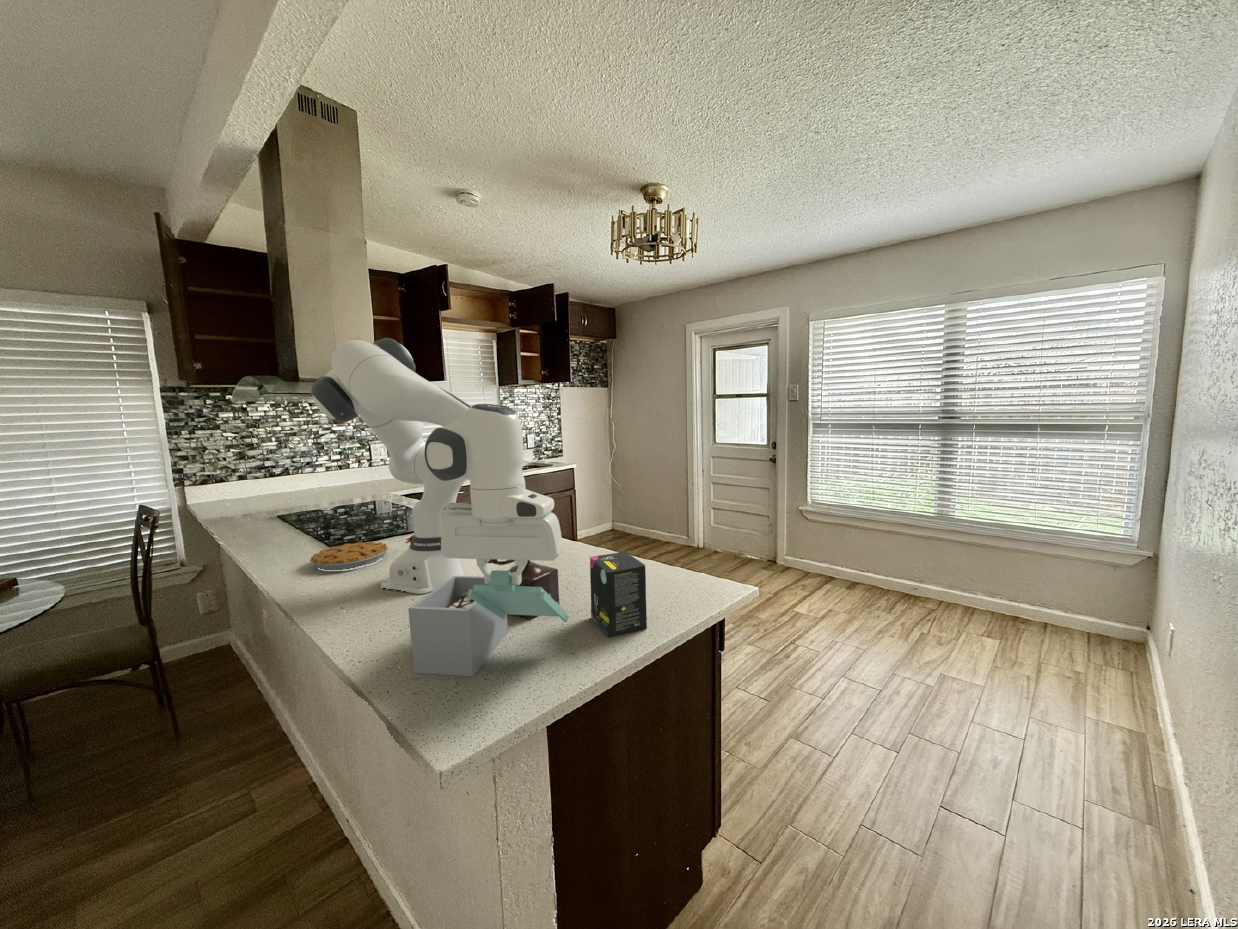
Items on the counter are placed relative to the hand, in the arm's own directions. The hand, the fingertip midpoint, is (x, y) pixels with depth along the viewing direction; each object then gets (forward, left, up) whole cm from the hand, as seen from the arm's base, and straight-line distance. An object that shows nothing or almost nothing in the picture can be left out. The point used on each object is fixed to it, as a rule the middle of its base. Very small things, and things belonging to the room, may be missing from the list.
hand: (503, 583), depth 77 cm
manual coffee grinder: (-9, +30, -19) cm, 36 cm away
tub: (-14, +11, -19) cm, 26 cm away
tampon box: (+15, +26, -19) cm, 36 cm away
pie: (-79, +61, -19) cm, 101 cm away
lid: (0, +6, -7) cm, 9 cm away
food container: (-14, +11, -19) cm, 26 cm away
